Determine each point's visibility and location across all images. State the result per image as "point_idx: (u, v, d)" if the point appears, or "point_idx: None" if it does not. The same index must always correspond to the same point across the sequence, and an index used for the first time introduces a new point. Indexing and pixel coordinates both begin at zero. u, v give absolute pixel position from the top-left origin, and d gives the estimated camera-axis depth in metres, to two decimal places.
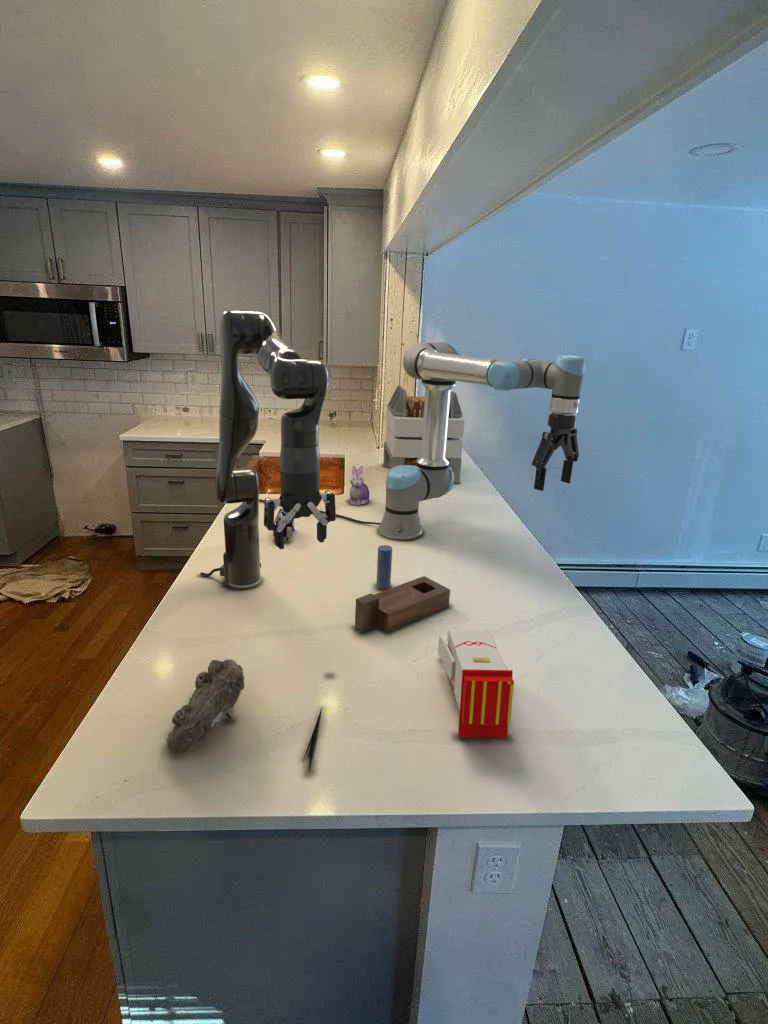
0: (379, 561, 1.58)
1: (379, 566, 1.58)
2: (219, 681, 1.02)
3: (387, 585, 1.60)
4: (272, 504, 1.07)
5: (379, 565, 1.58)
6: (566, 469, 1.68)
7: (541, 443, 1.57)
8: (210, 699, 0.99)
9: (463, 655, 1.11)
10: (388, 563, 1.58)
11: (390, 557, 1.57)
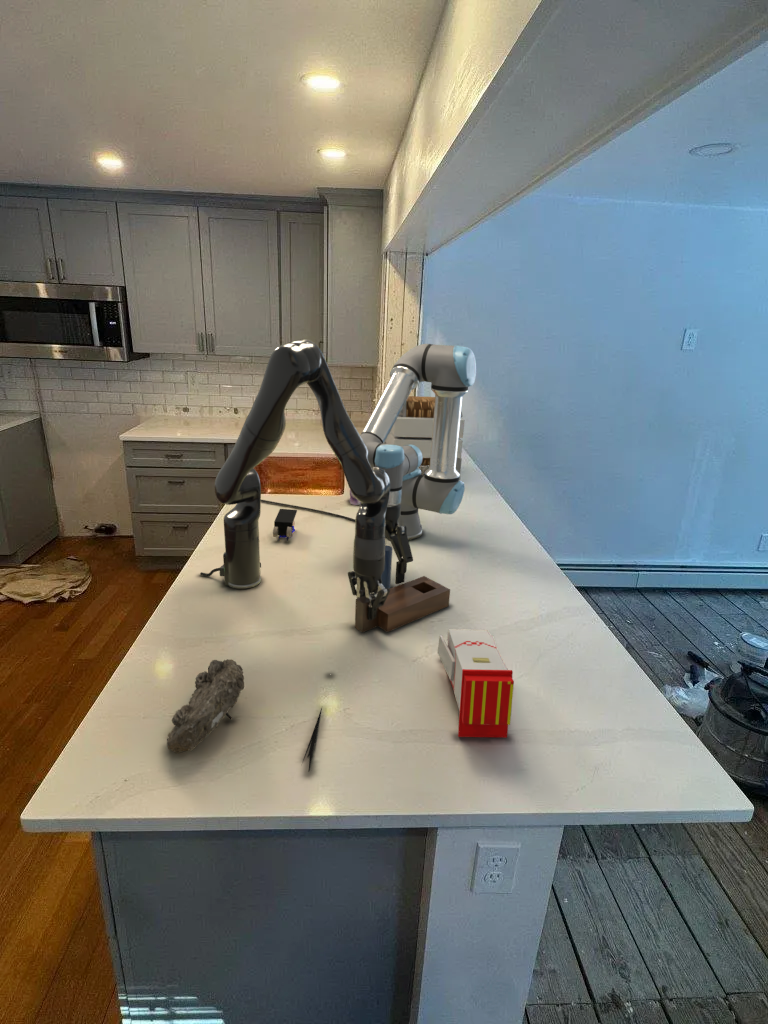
0: None
1: None
2: (219, 681, 1.02)
3: (387, 585, 1.60)
4: None
5: None
6: None
7: None
8: (210, 699, 0.99)
9: (463, 655, 1.11)
10: (388, 563, 1.58)
11: (390, 557, 1.57)
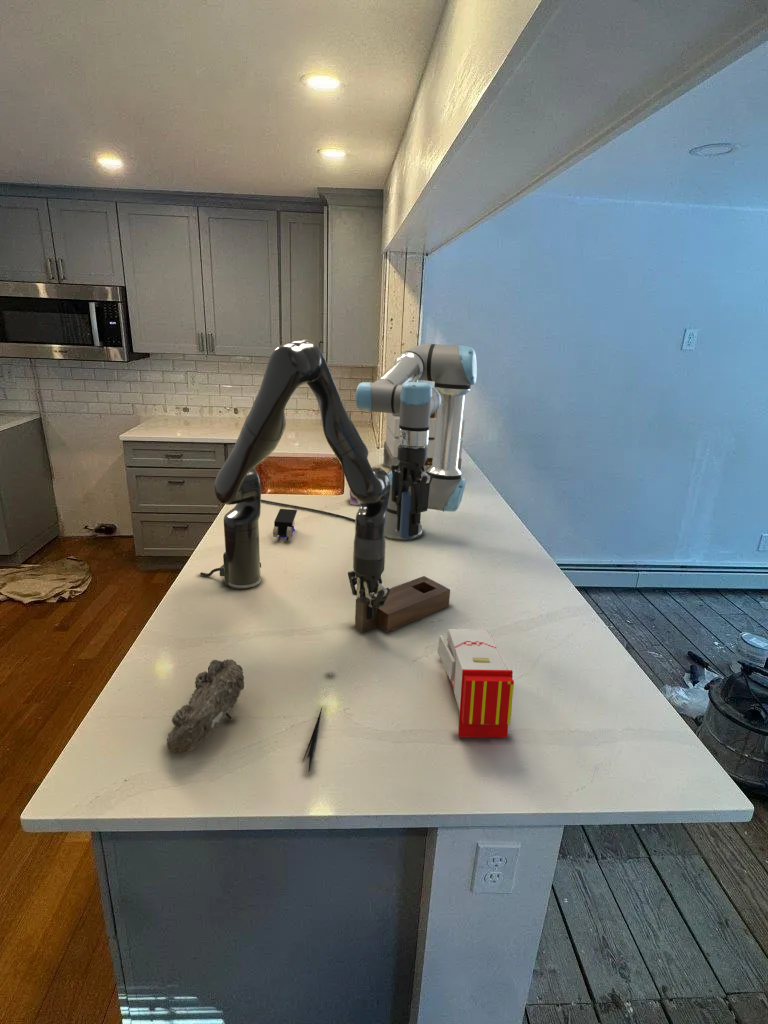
0: (403, 507, 1.46)
1: (402, 512, 1.47)
2: (219, 681, 1.02)
3: None
4: None
5: (403, 511, 1.47)
6: None
7: None
8: (210, 699, 0.99)
9: (463, 655, 1.11)
10: None
11: None
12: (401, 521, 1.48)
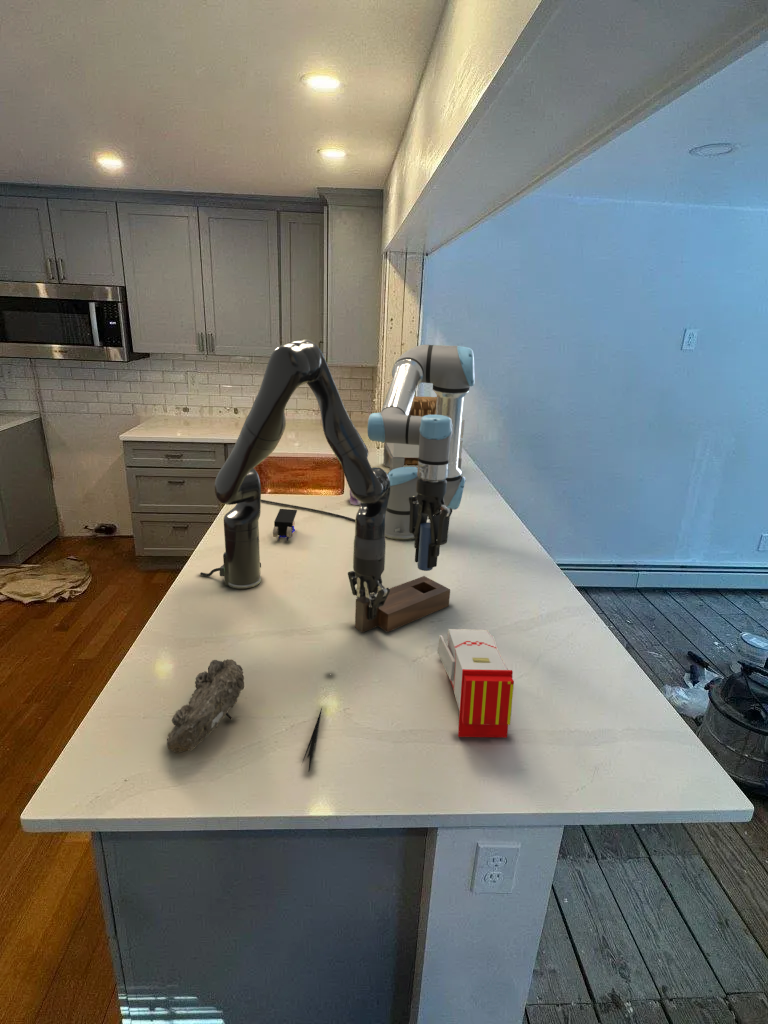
0: (422, 539, 1.45)
1: (421, 545, 1.46)
2: (219, 681, 1.02)
3: None
4: None
5: (422, 544, 1.45)
6: None
7: None
8: (210, 699, 0.99)
9: (463, 655, 1.11)
10: None
11: None
12: (420, 553, 1.47)
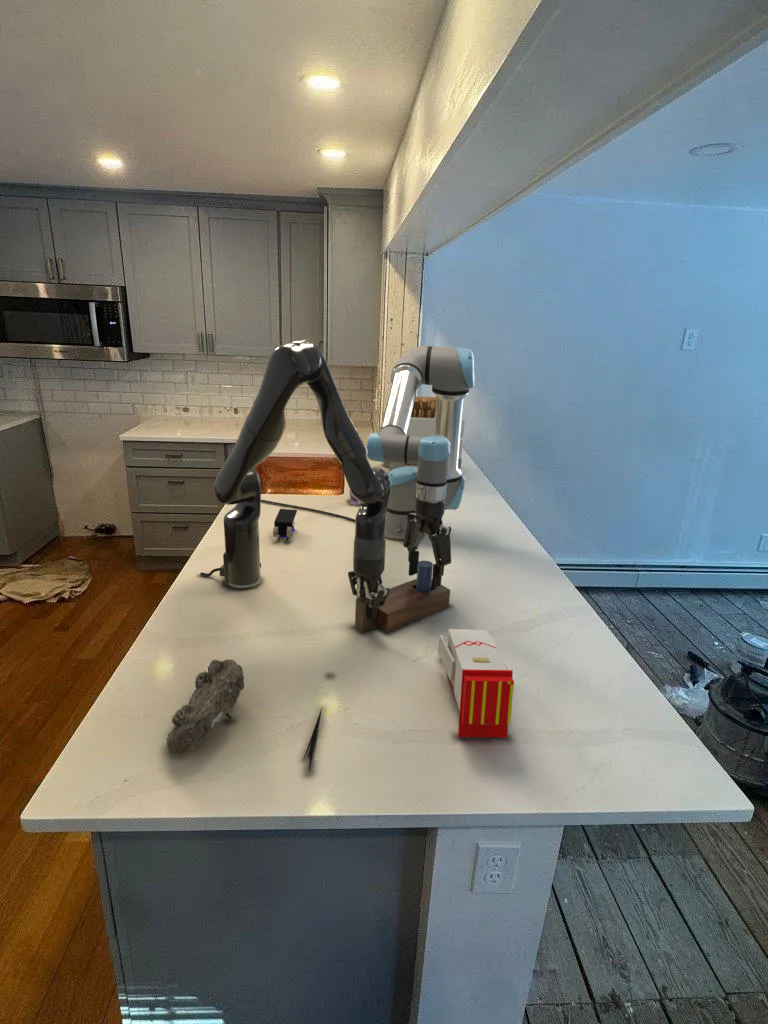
0: (419, 578, 1.49)
1: (419, 583, 1.49)
2: (219, 681, 1.02)
3: None
4: None
5: (419, 582, 1.49)
6: None
7: None
8: (210, 699, 0.99)
9: (463, 655, 1.11)
10: (429, 580, 1.49)
11: (431, 573, 1.49)
12: None
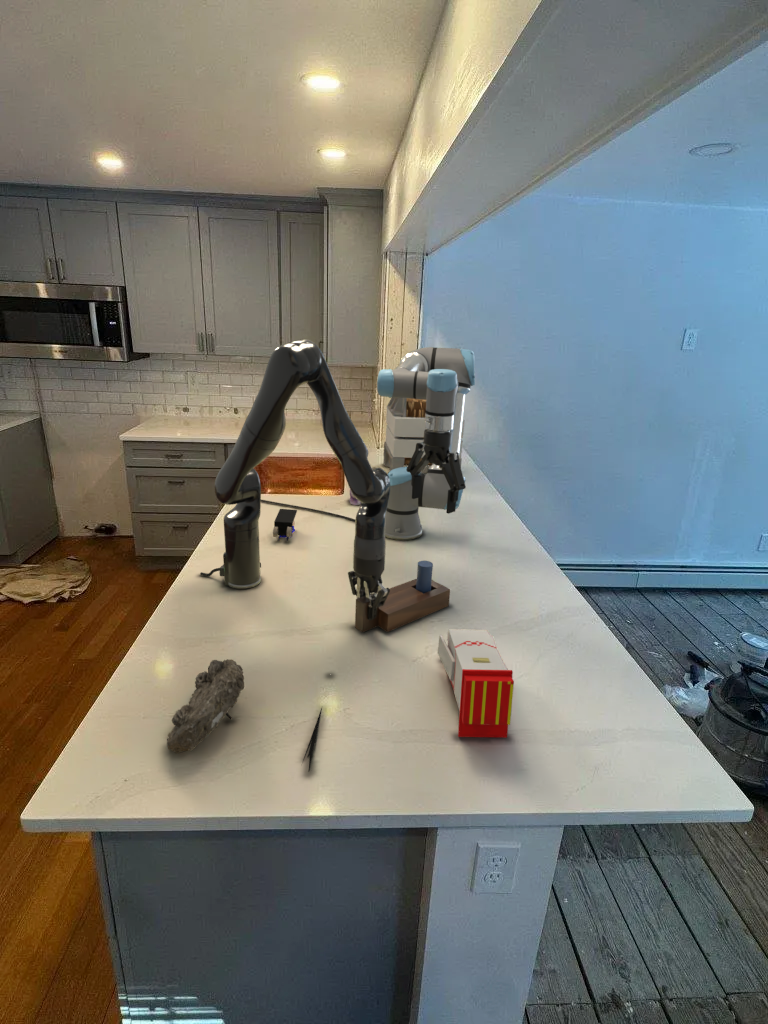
0: (419, 578, 1.49)
1: (419, 583, 1.49)
2: (219, 681, 1.02)
3: None
4: None
5: (419, 582, 1.49)
6: None
7: None
8: (210, 699, 0.99)
9: (463, 655, 1.11)
10: (429, 580, 1.49)
11: (431, 573, 1.49)
12: None
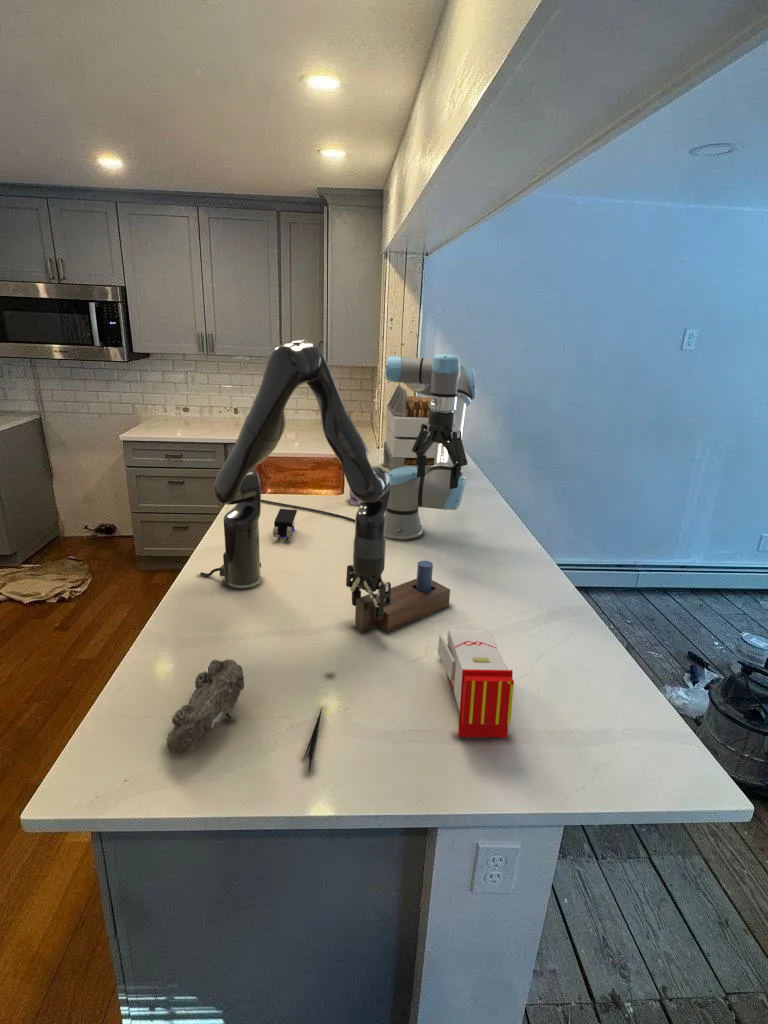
0: (419, 578, 1.49)
1: (419, 583, 1.49)
2: (219, 681, 1.02)
3: None
4: None
5: (419, 582, 1.49)
6: None
7: None
8: (210, 699, 0.99)
9: (463, 655, 1.11)
10: (429, 580, 1.49)
11: (431, 573, 1.49)
12: None
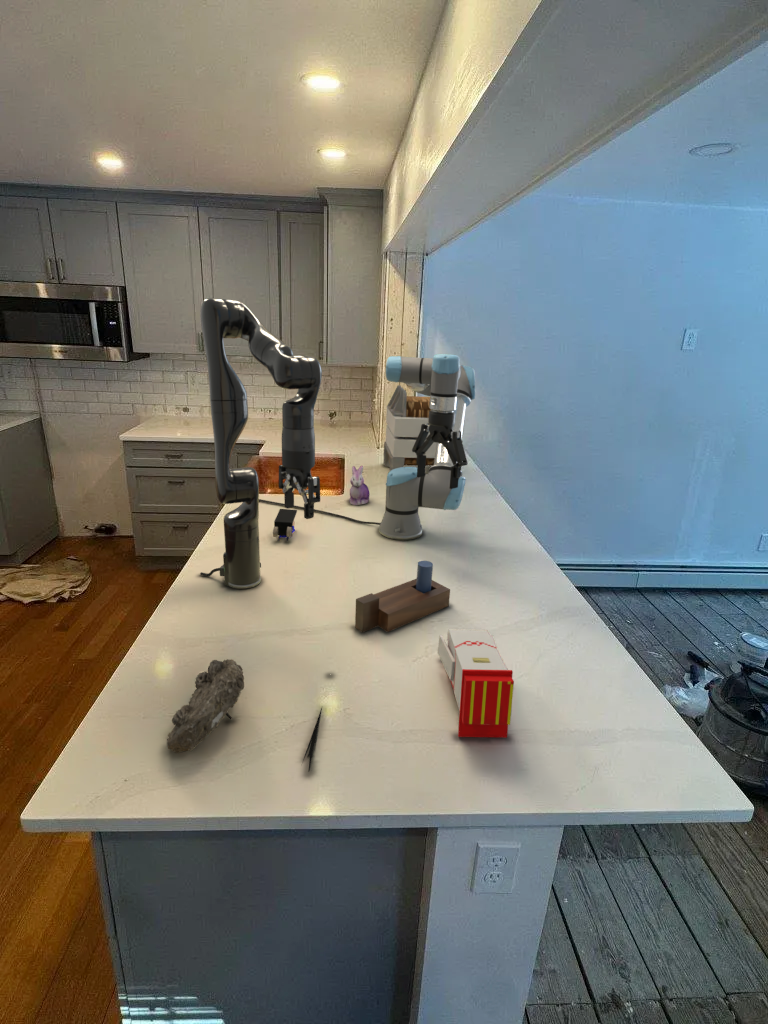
0: (419, 578, 1.49)
1: (419, 583, 1.49)
2: (219, 681, 1.02)
3: None
4: None
5: (419, 582, 1.49)
6: None
7: None
8: (210, 699, 0.99)
9: (463, 655, 1.11)
10: (429, 580, 1.49)
11: (431, 573, 1.49)
12: None
